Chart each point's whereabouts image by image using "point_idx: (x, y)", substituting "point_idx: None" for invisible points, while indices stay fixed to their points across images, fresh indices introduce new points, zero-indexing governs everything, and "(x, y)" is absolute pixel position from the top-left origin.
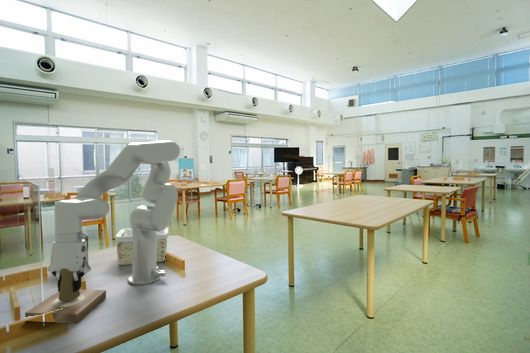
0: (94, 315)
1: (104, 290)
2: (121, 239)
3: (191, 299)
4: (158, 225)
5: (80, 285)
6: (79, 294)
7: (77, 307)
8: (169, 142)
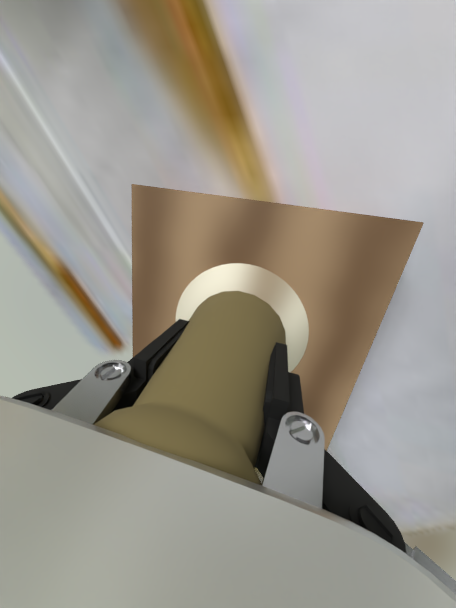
0: (370, 384)
1: (412, 227)
2: None
3: None
4: None
5: (297, 384)
6: (284, 339)
7: (306, 403)
8: None
